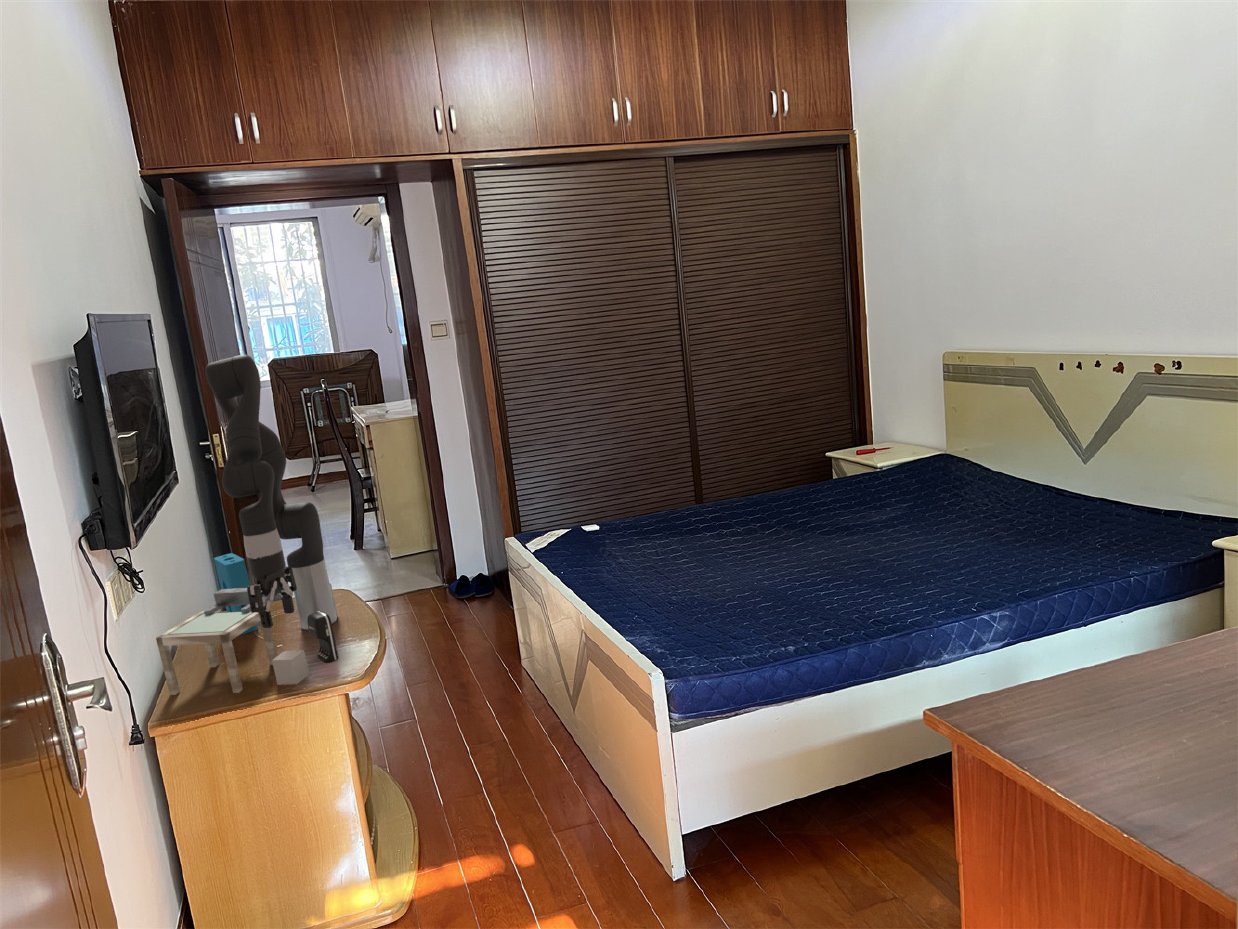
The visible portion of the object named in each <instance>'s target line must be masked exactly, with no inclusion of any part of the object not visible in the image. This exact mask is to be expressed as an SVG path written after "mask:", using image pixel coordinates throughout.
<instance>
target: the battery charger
mask: <svg viewBox="0 0 1238 929" xmlns="http://www.w3.org/2000/svg"><path fill="white" fill-rule="evenodd" d="M307 622H308V629H309V630H308V632H309V635H310V636H311V637H313V638H315V639H317V640H318V644H319V648H318V652H317V655H316V656H317V658H318V659H319V660H321V661H323V662H324V663H330V662H333V661H337V660H338V659H339V653H338V648H337V645H336V638H335V632H334V628H333V624H332V623H331V619H330V617H329V615H328V614H326V613H325V612H322V611H317V612H315V613H312V614H310V615H309V616H308V618H307Z"/></svg>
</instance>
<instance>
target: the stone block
mask: <svg viewBox="0 0 1238 929" xmlns="http://www.w3.org/2000/svg"><path fill="white" fill-rule="evenodd" d="M277 655H278V656H277V657H276V658H274V659H273V660H272V663H273V665H272V667H273V670H274V675H275V680H276V684H277V686H278V685H279V686H282V685H298V684H300V682H302V681H303V680H304V679H305V678H306V677H308V676H309V673H310V672H309V668H308V663H307V660H306V655H305V651H304V649H302V650H300V649H299V650H285V651H284V650H283V651H282V652H281V653H280V654H277Z"/></svg>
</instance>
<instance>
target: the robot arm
mask: <svg viewBox="0 0 1238 929" xmlns="http://www.w3.org/2000/svg"><path fill="white" fill-rule="evenodd" d="M204 373H205V378H206V381H207V383H208V385H209V388H210V390H211V391H212V394H213V396H214V398H215V399H216V401H217V403H218V406H219V407H220V409H221V411H222V412H223V414H224V417H225V418H226V420H227V422H228V423H227V426H226V436H225V437H226V445H227V457H226V462H225V465H224V468H223V471H222V472H223V473H222V478H221V481H222V482H221V483H222V488H223V490H224V492H225V494H227V495H228V496H229V497H230V498H234V499H236V498H243V497H248V496H254V495H260V498H259V500H258V501H256V502H254V503H252V504H249V505H247V506H245V507H243V508H241V509H240V510H239V512H238V515H239V516H238V518H239V522H240V526H241V530H242V535H243V544H244V545H243V546H244V549H245V555H246V559H247V560H246V561H247V564H248V570H249V573H250V575H251V576H252V577H254V578H255V584H253V585H250V586H248V587H247V592H248V597H249V603H250V608H251V612H252V613H255V612H258V613H259V615H260V619H261V624H262V626H263V628H271V629H272V627H273V626H274V623H273V618H272V613H271V610H270V607H271V604H272V602H273V601H274V597H275V596H277V594H278V595H279V596H280V599H281V603H282V608H283V613H284V614H285V615H286V614H293V613H294V612H295V606H294V600H293V596H294V599H295V605H296V609H297V614H298V619H299V623H300V628H301V629H302V630H307V631H309V629H308V622H307V618H308V616H309V615H310V614H312V613H315V612H317V611H322V612H325V613H326V614H328V615H329V617H330V619H331V623H332V625H333V624H334V623H335V622H337V620H338V618H337V617H338V610H337V606H336V601H335V596H334V592H333V587H332V586H333V585H332V583H330V580H329V579H330V578H329V575H328V574H329V573H328V569H327V566H326V560H325V556H324V541H323V535H322V529H321V528H322V527H321V523H320V522H321V520H320V515H319V512H318V510H317V507H316V506H315V504H313V503H312V502H310V501H309V502H307V501H306V502H305V501H303V502H294V503H287V502H286V501H285V499H284V497H283V493H282V489H281V488H282V482H283V478H284V476H285V471H286V466H287V456H286V453H285V451H284V449H283V446H282V443H281V442H280V439H279V436H278V435H277V434H276V433H275V431H273V429H271V428H270V427H268V426H267V425H265V424H264V423H262V422H261V421H260V408H261V407H260V406H261V376H260V371H259V370H258V367H257V365H256V363H255V361H254V359H253V358H252V357H251V356H250V355H248V354H240V355H235V356H231V357H226V358H224V359H223V358H222V359H219V360H216V361H212V362H210V363H207V365H206V366H205V369H204ZM240 396H241V399H240V401H239V403H238V401H237V400H236V399H235V398H236V397H240ZM295 539H301V547H299V548H297V549H295V550H293V551H292V552H290V553H289V554H287V556H286V561H285V556H284V551H283V547H282V541H281V540H295ZM286 563H287V564H286ZM289 583H290V585H289ZM263 595H264V596H265V597H262V596H263ZM255 602H257V607H256V606H255ZM263 602H265V604H263Z"/></svg>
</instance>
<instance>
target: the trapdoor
mask: <svg viewBox="0 0 1238 929" xmlns="http://www.w3.org/2000/svg"><path fill="white" fill-rule="evenodd" d="M262 597H265V596H264V595H263V596H262ZM213 598H214V601H215V604H214V605H212V606H210V607H209V608H207V609H206V610H203V611H204V613H205V614H202V615H201V616H199V617H197V618H196V619H194V620H192V621H190V622H189V623H187V624H185V625H184V626H182V627H180V628H179V629H177V630H175V631H174V632H172V633H170V634H169V635H177V634H197V633H216V632H225V631H226V630H228V629H229V628H231V627H232V626H234V625H235V624H237V623H238V622H240V621H242V620H243V619H245V618H246V617H248V616H249V615H251V614H252V612H251V608H250V603H249V597H248V592H247V588H235V589H221V588H220V589H219V590H217V591H216V592H215V593H213ZM240 605H247V606H245V607H244V608H242V609H241V612H229V613H227V612H219V611H220V610H221V609H223V608H225V606H240ZM263 605H265V602H263ZM255 606H256V607H257V602H255ZM217 611H218V612H217Z"/></svg>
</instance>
